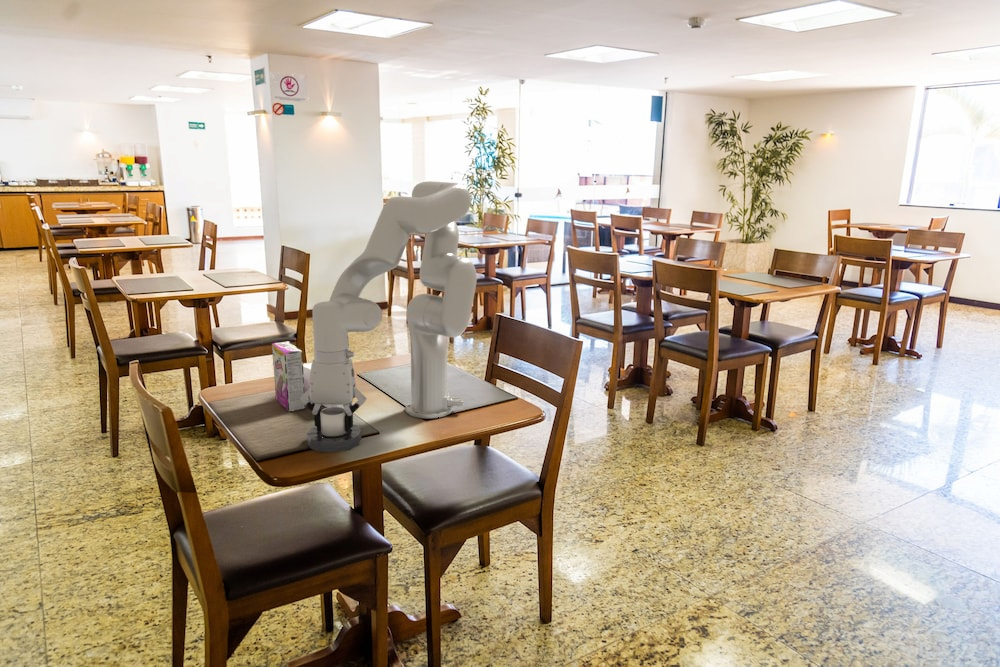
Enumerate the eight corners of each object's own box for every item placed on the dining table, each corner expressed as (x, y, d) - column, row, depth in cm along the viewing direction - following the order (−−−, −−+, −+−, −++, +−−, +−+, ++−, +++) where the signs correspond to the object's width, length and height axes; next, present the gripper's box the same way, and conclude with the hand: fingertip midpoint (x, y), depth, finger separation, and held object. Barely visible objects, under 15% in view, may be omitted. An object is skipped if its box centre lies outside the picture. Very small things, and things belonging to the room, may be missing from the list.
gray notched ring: (365, 432, 164) (365, 422, 163) (354, 453, 152) (354, 442, 152) (316, 431, 164) (315, 421, 163) (301, 451, 152) (301, 441, 151)
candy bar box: (274, 400, 184) (270, 343, 180) (292, 397, 187) (289, 340, 183) (287, 412, 175) (284, 352, 171) (306, 409, 178) (303, 350, 174)
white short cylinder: (349, 426, 160) (349, 406, 159) (343, 436, 154) (343, 415, 153) (324, 426, 160) (323, 405, 159) (318, 436, 154) (317, 415, 153)
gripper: (372, 352, 156) (373, 424, 161) (298, 350, 156) (302, 422, 161) (365, 361, 149) (367, 436, 154) (288, 359, 149) (292, 434, 154)
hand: (334, 428), depth 157 cm, fingers closed on white short cylinder, 5 cm apart
